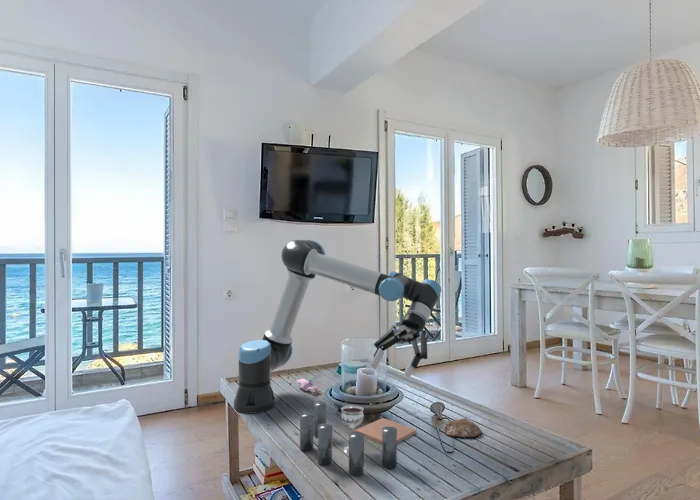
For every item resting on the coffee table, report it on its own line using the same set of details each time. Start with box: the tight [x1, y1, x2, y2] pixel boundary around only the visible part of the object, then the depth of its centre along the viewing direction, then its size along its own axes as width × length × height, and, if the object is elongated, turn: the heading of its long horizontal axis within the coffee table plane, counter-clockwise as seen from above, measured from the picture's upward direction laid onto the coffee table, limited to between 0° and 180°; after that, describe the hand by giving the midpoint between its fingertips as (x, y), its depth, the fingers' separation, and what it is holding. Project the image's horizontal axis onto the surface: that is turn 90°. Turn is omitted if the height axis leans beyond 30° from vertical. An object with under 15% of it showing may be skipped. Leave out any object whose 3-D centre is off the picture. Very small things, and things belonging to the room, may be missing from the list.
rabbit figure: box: [295, 378, 323, 397], centre depth 182 cm, size 6×6×15 cm
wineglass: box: [340, 404, 365, 454], centre depth 130 cm, size 7×7×12 cm
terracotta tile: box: [354, 417, 417, 445], centre depth 142 cm, size 14×14×1 cm
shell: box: [444, 417, 483, 440], centre depth 144 cm, size 12×13×4 cm
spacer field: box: [299, 400, 398, 478], centre depth 126 cm, size 32×15×10 cm, turn 47°
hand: (389, 370), depth 141 cm, fingers open, 13 cm apart
